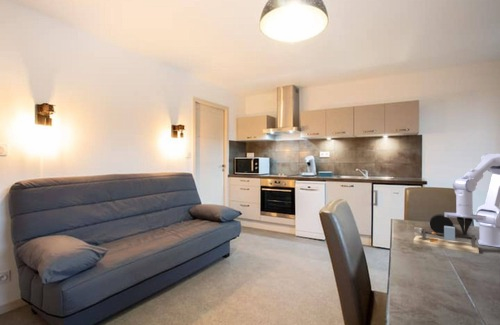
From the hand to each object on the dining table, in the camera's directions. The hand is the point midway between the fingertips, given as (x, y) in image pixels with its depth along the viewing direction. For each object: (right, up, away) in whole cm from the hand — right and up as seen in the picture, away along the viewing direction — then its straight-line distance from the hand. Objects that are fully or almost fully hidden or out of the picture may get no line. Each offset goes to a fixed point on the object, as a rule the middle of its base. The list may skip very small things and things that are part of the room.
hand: (464, 234), depth 118 cm
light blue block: (-4, -3, +3) cm, 6 cm away
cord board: (-6, -7, +5) cm, 10 cm away
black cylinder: (+13, -7, +33) cm, 36 cm away
